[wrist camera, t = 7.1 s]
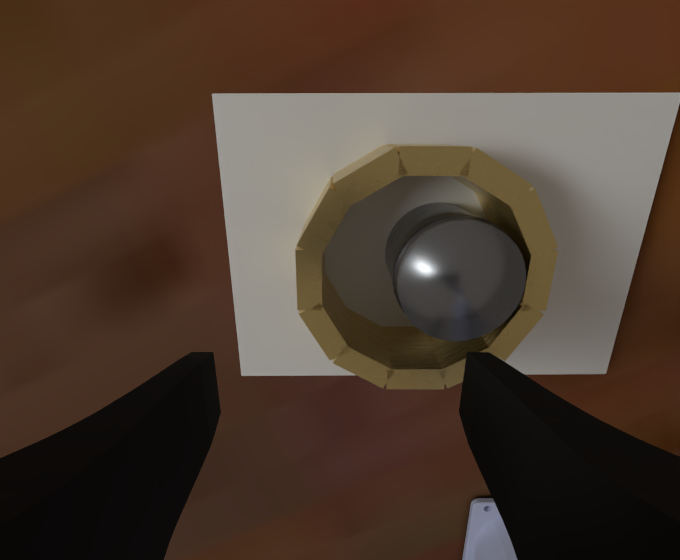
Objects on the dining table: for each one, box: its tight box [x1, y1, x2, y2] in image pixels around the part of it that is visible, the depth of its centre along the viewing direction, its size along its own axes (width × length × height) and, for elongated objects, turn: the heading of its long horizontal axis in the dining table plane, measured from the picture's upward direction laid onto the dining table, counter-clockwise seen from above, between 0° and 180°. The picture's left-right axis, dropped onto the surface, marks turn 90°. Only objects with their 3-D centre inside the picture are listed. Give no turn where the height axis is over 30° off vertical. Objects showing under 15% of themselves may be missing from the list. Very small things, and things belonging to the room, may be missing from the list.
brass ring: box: [295, 144, 558, 389], centre depth 17 cm, size 10×10×4 cm
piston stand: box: [212, 93, 680, 376], centre depth 17 cm, size 20×14×6 cm
